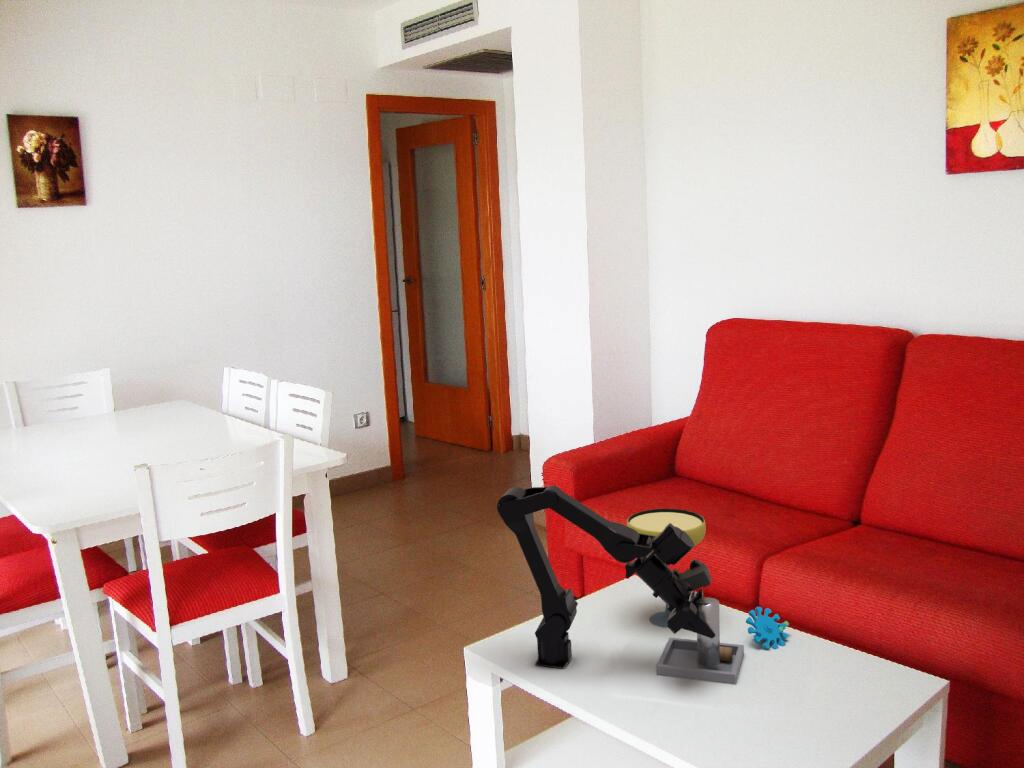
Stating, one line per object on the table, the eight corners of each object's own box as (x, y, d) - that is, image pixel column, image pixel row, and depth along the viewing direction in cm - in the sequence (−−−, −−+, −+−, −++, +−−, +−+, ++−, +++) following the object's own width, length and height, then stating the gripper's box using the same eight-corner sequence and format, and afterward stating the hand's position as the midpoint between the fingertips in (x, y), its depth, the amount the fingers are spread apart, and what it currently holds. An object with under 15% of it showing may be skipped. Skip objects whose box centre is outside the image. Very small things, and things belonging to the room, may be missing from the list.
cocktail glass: (669, 600, 236) (667, 503, 232) (723, 623, 221) (722, 520, 217) (613, 620, 226) (610, 519, 222) (666, 645, 211) (664, 538, 207)
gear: (760, 650, 203) (742, 607, 209) (745, 661, 208) (728, 618, 213) (800, 645, 208) (781, 603, 214) (785, 656, 212) (767, 614, 218)
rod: (698, 661, 203) (696, 652, 201) (699, 650, 205) (698, 641, 204) (731, 665, 201) (730, 656, 199) (732, 653, 203) (731, 644, 201)
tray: (656, 677, 197) (656, 665, 197) (669, 648, 210) (669, 637, 210) (735, 686, 192) (735, 674, 191) (743, 656, 204) (743, 645, 204)
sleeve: (701, 667, 195) (700, 607, 193) (694, 657, 200) (693, 598, 198) (722, 665, 196) (722, 605, 194) (715, 655, 200) (715, 596, 198)
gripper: (683, 569, 186) (741, 626, 185) (691, 538, 204) (744, 590, 203) (643, 605, 190) (700, 661, 188) (655, 571, 207) (707, 622, 206)
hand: (714, 631), depth 196 cm, fingers closed on sleeve, 4 cm apart
